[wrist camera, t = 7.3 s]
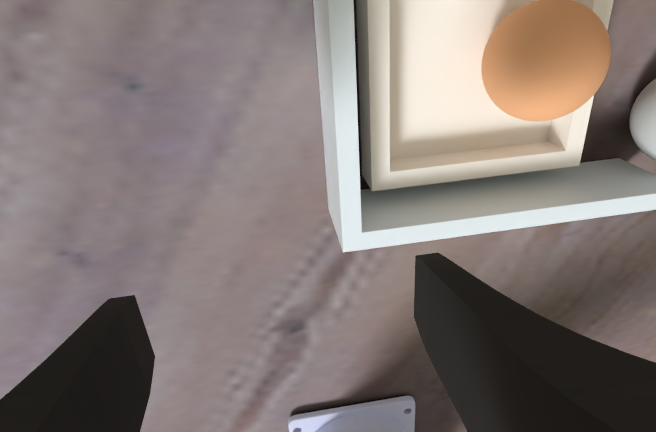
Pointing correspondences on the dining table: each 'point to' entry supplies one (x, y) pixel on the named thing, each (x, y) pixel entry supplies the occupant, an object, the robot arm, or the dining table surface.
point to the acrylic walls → (449, 197)
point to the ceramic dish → (447, 97)
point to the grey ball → (645, 120)
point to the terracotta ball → (546, 59)
